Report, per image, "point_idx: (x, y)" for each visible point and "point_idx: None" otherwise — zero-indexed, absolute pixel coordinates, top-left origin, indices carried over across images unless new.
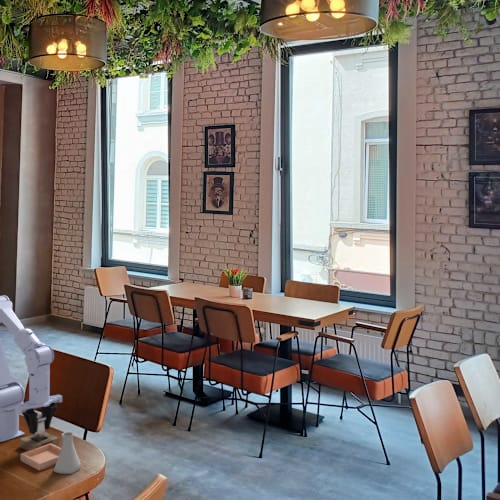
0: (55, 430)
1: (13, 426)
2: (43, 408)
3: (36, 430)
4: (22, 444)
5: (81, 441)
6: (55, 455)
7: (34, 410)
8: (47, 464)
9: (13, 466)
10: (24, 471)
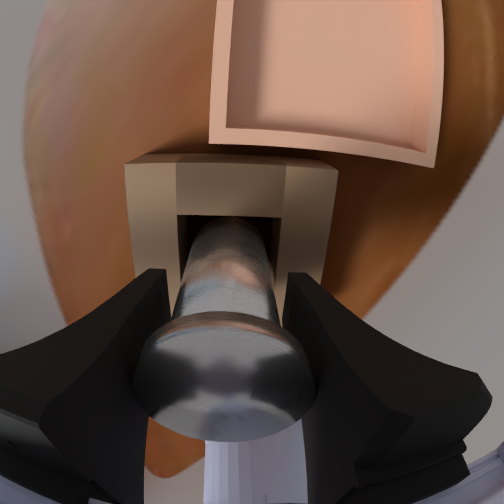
0: None
1: None
2: (132, 473)
3: (272, 290)
4: None
5: (31, 122)
6: (271, 18)
7: (359, 487)
8: None
9: (459, 139)
10: (460, 54)
